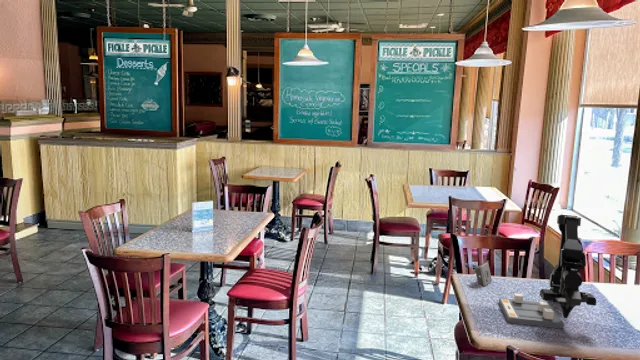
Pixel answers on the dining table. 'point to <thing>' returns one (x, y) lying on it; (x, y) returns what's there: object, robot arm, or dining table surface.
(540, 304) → the tab
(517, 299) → the beige cube
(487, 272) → the electrical switch
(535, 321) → the switch panel
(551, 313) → the tab
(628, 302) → the dining table surface
